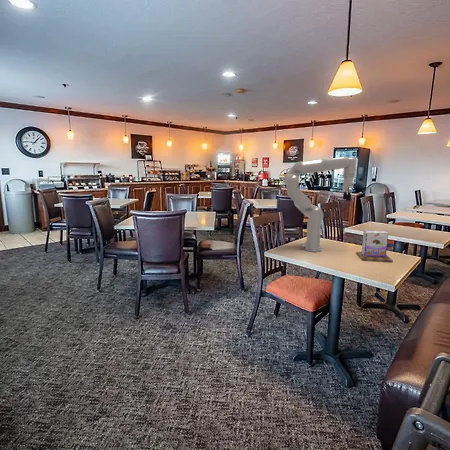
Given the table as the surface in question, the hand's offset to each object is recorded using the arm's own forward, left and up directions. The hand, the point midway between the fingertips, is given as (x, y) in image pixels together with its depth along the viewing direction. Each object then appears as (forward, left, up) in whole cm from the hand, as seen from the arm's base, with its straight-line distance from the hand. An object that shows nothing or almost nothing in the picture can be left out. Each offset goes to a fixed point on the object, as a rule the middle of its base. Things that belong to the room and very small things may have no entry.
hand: (346, 199), depth 213 cm
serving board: (+16, -19, -36) cm, 44 cm away
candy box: (+16, -19, -35) cm, 43 cm away
